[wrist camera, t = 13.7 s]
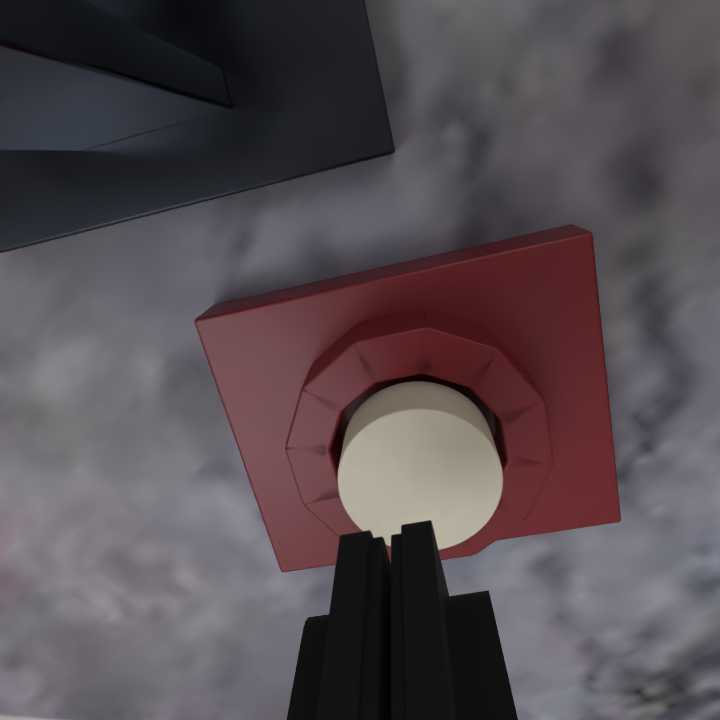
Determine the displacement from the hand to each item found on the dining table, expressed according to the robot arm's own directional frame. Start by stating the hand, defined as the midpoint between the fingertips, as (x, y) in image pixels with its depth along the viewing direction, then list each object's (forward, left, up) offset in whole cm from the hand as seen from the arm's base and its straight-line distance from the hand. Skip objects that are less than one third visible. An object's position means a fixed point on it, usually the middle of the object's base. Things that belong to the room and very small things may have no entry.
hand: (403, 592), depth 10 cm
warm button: (0, 0, -5) cm, 5 cm away
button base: (0, 0, -9) cm, 8 cm away
